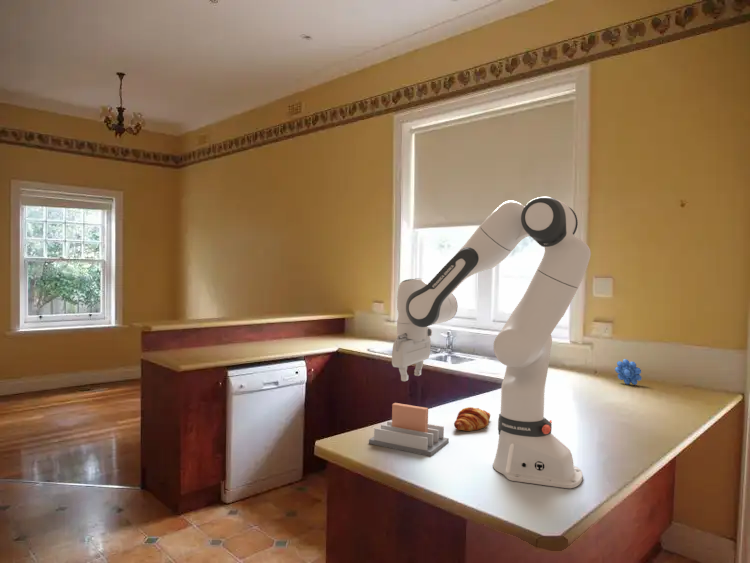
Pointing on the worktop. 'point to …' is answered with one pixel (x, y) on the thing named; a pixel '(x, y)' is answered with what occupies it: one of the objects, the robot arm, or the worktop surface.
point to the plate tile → (410, 417)
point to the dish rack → (410, 439)
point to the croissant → (471, 419)
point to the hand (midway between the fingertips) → (411, 378)
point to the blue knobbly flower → (628, 372)
